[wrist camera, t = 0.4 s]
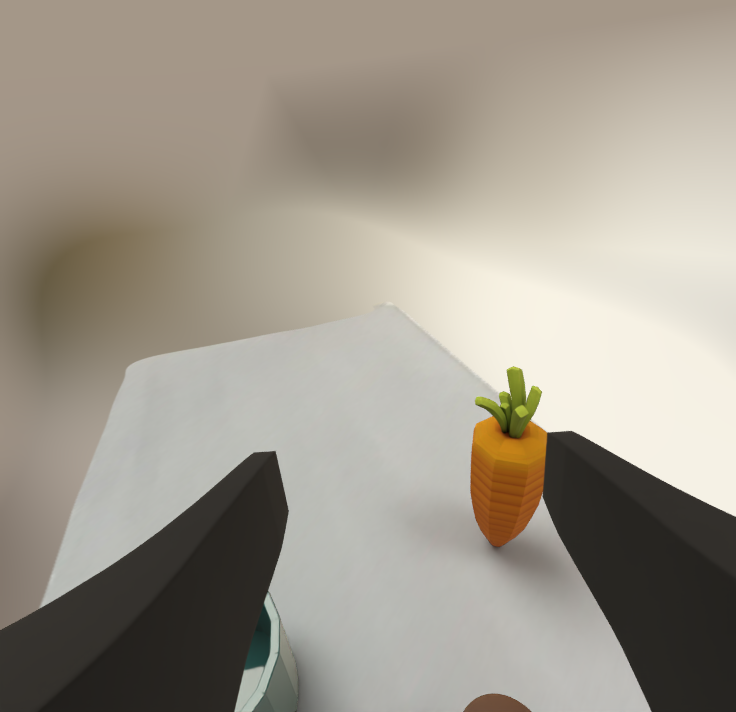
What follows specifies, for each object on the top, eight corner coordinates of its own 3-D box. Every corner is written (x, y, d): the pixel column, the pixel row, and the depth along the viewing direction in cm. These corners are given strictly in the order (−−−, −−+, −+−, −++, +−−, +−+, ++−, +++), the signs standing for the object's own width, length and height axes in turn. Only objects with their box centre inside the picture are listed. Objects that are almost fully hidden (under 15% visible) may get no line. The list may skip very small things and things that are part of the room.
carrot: (515, 590, 26) (550, 418, 19) (450, 549, 29) (459, 386, 22) (540, 537, 29) (579, 373, 22) (479, 505, 32) (496, 350, 25)
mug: (297, 612, 26) (280, 559, 23) (301, 787, 19) (278, 742, 16) (122, 653, 25) (81, 602, 22) (57, 858, 18) (-18, 824, 15)
